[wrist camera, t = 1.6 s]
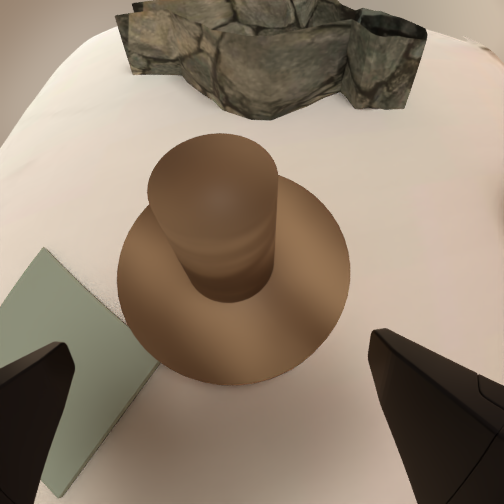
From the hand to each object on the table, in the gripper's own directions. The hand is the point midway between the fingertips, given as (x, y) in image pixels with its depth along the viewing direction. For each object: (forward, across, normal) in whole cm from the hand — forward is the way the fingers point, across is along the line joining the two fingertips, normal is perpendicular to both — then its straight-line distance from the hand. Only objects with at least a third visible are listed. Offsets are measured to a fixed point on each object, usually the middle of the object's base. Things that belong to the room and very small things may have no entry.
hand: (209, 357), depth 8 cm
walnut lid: (+10, 0, +2) cm, 10 cm away
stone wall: (+33, -4, -14) cm, 36 cm away
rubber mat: (+9, +16, +9) cm, 20 cm away
